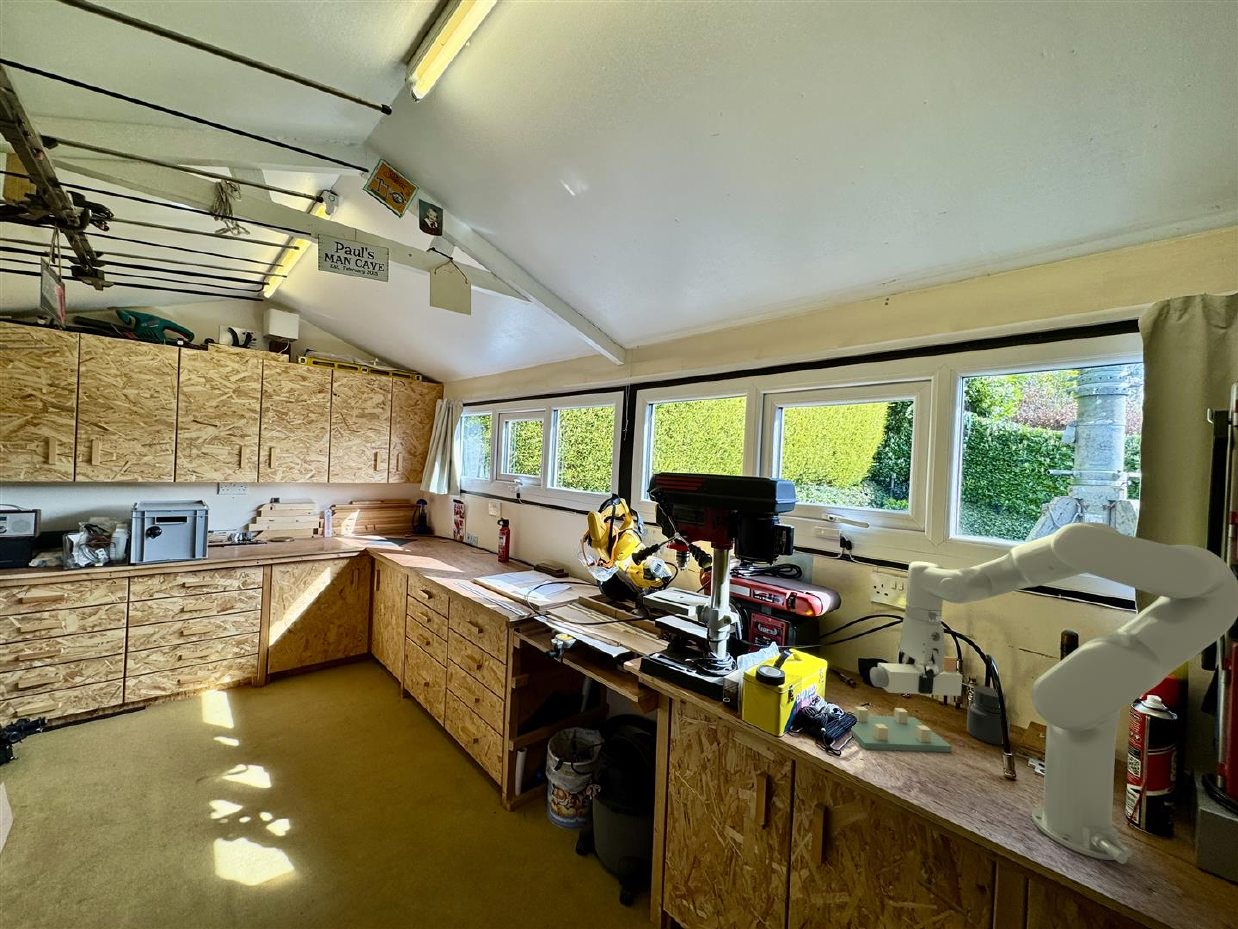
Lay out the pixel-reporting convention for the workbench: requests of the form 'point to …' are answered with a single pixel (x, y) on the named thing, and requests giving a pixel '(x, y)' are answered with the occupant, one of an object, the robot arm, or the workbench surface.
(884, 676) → the block with grey endcap
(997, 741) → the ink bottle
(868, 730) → the jig
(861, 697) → the workbench surface
